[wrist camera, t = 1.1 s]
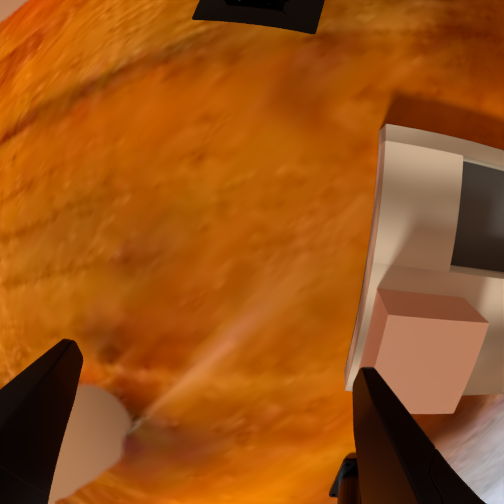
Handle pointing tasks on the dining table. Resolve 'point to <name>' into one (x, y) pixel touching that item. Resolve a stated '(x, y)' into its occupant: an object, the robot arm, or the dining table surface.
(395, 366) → the terracotta block
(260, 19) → the black boxy piece
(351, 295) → the dining table surface
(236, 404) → the dining table surface
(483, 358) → the trap board
